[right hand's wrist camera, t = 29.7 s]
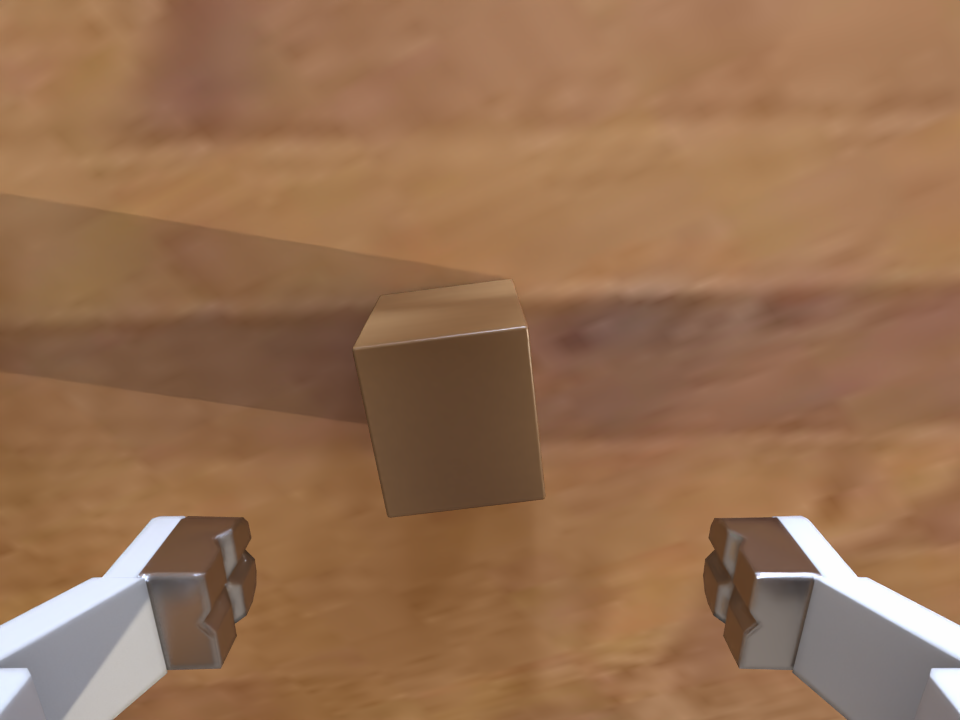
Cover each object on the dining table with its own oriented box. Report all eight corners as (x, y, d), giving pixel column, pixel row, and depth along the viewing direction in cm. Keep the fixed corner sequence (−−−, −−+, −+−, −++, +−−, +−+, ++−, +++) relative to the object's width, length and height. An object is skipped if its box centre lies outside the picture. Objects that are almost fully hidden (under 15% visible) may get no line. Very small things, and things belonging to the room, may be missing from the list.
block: (405, 431, 21) (387, 519, 16) (379, 295, 19) (351, 347, 14) (527, 416, 20) (546, 500, 16) (512, 277, 19) (528, 325, 14)
